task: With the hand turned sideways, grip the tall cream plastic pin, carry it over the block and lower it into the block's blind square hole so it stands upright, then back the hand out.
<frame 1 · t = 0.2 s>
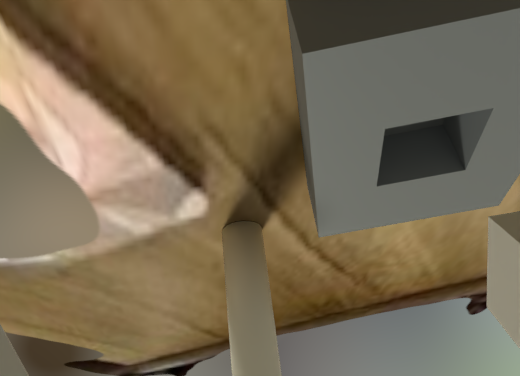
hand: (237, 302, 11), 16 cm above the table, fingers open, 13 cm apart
pin: (241, 231, 40), on the table
hole block: (402, 93, 27), on the table
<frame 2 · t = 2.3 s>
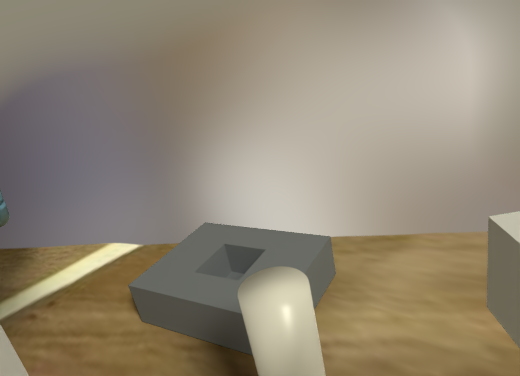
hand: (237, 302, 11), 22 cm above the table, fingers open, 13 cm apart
hole block: (240, 297, 46), on the table
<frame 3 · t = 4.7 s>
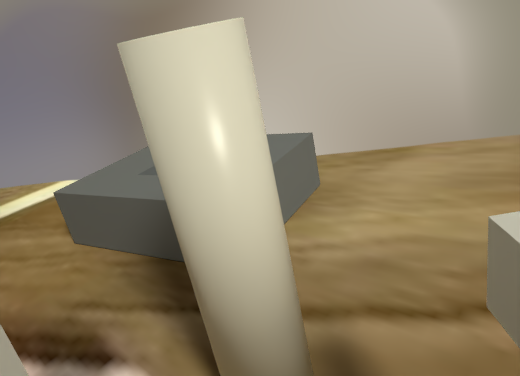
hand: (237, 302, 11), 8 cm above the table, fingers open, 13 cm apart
hole block: (199, 213, 37), on the table
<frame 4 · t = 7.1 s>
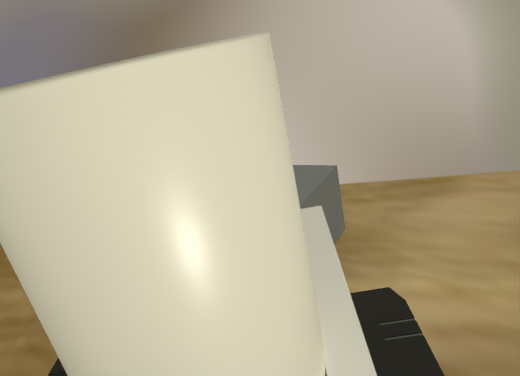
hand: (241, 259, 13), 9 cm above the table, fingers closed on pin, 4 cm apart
hole block: (194, 264, 29), on the table
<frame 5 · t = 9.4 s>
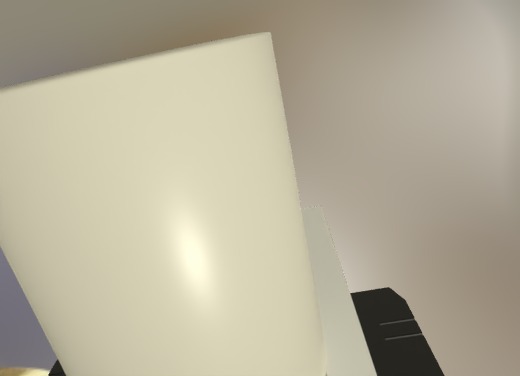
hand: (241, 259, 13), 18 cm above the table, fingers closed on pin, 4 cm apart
when the fingers open (10 cm above the table, at t = 11.8 s): pin stays where it is, resting on hole block.
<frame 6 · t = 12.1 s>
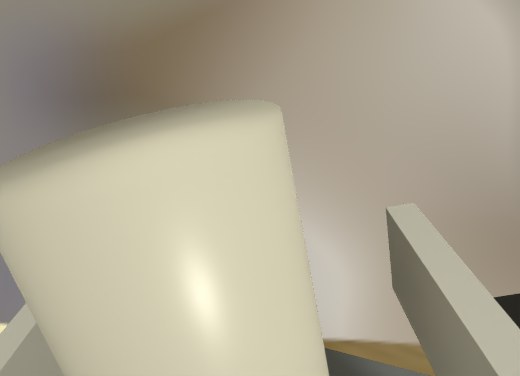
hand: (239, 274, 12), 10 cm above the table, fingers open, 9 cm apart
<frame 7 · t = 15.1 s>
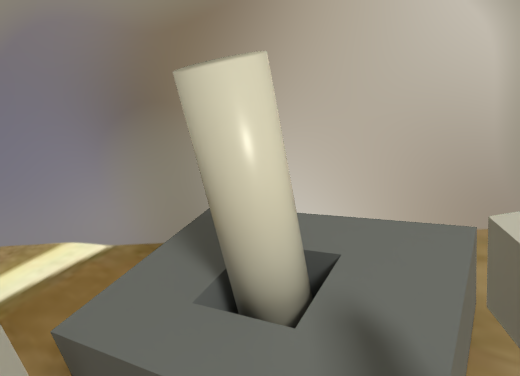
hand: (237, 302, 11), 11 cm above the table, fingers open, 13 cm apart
pin: (282, 337, 22), point 1 cm above the table, touching hole block
hole block: (285, 350, 23), on the table
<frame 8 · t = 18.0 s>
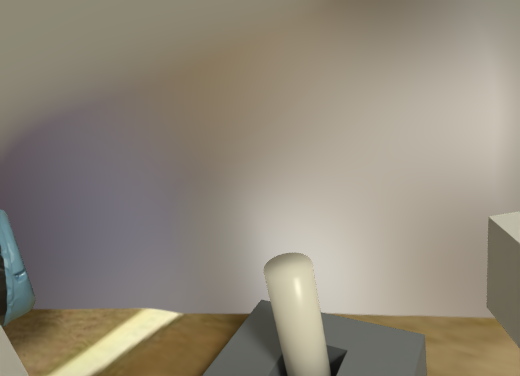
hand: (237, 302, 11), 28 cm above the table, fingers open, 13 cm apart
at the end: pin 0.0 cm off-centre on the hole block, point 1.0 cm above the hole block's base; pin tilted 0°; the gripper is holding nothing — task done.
